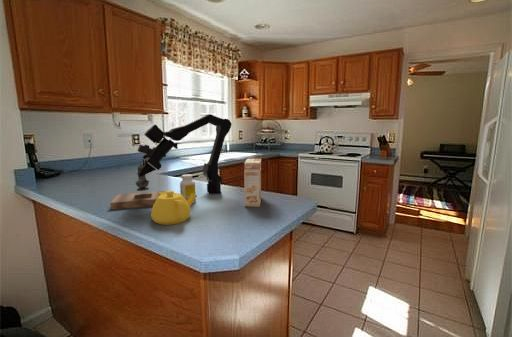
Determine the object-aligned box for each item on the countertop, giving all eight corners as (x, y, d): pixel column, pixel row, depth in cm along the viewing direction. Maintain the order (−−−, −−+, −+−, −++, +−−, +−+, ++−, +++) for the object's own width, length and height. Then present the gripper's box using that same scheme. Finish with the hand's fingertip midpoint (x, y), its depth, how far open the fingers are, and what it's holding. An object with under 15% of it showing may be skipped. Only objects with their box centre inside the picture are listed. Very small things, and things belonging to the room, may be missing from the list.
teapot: (211, 218, 101) (210, 190, 99) (165, 231, 88) (163, 200, 86) (184, 207, 115) (183, 182, 113) (142, 217, 102) (140, 189, 101)
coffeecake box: (260, 206, 115) (260, 162, 111) (243, 206, 115) (243, 162, 112) (261, 197, 129) (261, 158, 126) (247, 197, 130) (246, 158, 127)
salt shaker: (135, 188, 122) (133, 163, 120) (148, 187, 125) (146, 162, 122) (136, 191, 117) (134, 165, 115) (150, 189, 119) (148, 164, 117)
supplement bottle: (198, 201, 123) (197, 174, 121) (189, 205, 117) (188, 177, 115) (187, 199, 126) (186, 173, 124) (177, 203, 120) (176, 175, 118)
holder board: (170, 196, 132) (170, 190, 131) (170, 204, 118) (169, 198, 118) (118, 200, 125) (117, 194, 124) (111, 209, 111) (110, 202, 111)
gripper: (145, 137, 126) (121, 161, 123) (151, 139, 111) (124, 167, 107) (163, 152, 132) (141, 176, 128) (171, 156, 116) (146, 183, 112)
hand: (138, 175), depth 119 cm, fingers closed on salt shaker, 4 cm apart
